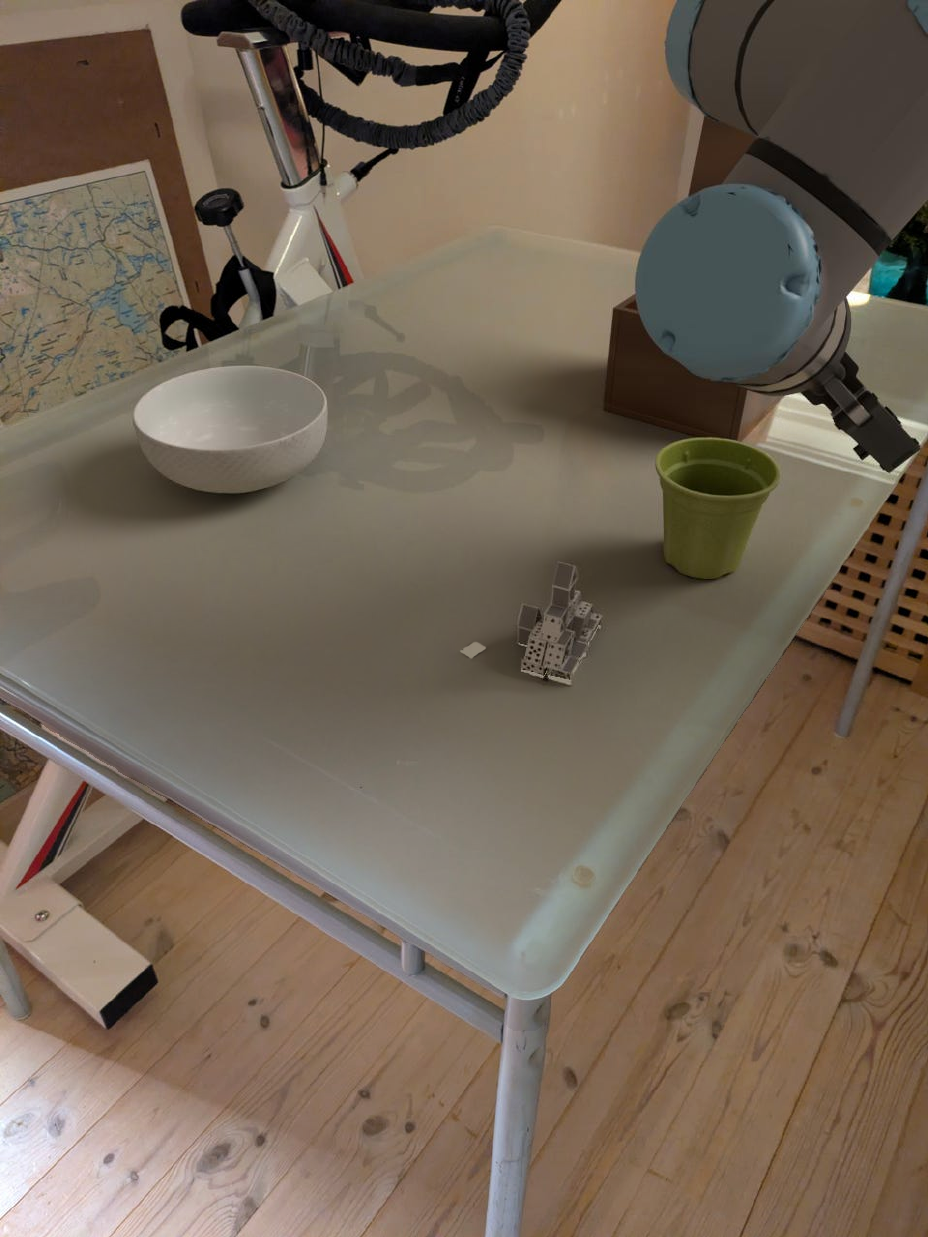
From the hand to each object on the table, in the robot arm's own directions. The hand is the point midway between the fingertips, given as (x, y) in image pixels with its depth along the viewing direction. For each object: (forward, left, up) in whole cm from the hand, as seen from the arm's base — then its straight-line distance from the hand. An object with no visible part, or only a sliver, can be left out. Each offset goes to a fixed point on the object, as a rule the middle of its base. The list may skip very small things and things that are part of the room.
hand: (818, 358), depth 71 cm
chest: (+16, -20, -16) cm, 30 cm away
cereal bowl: (+45, +18, -16) cm, 51 cm away
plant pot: (+4, +7, -16) cm, 18 cm away
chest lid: (+16, -28, +3) cm, 32 cm away
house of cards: (+10, +23, -16) cm, 30 cm away
